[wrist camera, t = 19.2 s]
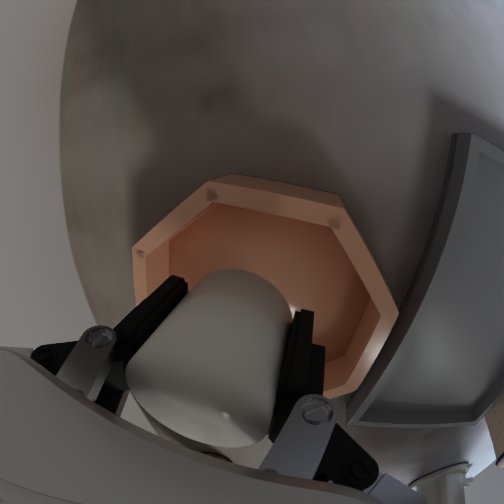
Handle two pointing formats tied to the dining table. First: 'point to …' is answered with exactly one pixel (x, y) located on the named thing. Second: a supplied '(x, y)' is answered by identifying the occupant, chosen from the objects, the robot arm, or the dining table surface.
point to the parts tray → (448, 309)
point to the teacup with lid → (497, 429)
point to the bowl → (280, 262)
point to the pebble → (216, 360)
